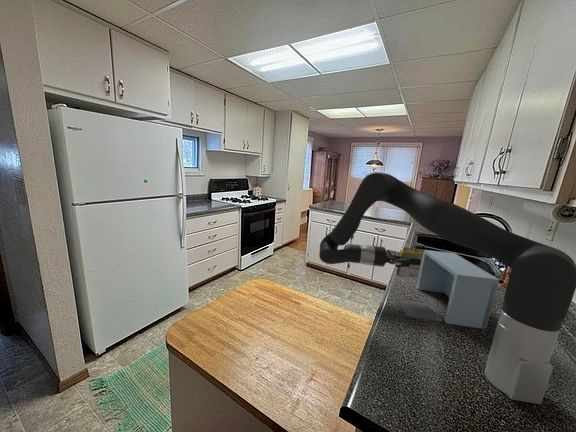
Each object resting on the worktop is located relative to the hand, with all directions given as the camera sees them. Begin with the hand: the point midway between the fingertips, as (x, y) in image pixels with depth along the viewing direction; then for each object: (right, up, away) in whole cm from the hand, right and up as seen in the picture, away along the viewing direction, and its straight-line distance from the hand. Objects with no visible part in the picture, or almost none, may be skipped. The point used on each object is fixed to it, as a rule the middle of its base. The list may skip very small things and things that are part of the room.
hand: (418, 260), depth 90 cm
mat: (-3, -17, -6) cm, 18 cm away
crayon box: (-3, -7, +2) cm, 7 cm away
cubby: (+10, -17, 0) cm, 20 cm away
